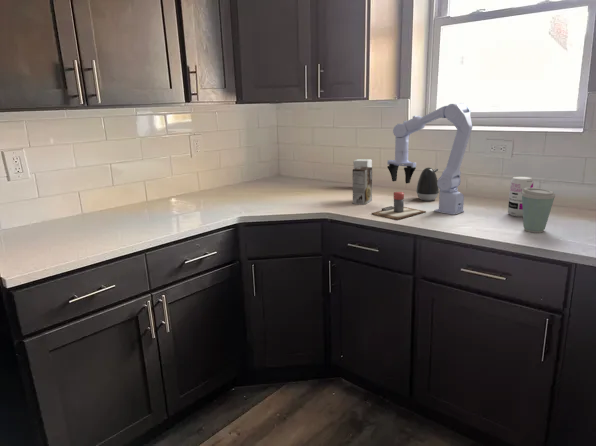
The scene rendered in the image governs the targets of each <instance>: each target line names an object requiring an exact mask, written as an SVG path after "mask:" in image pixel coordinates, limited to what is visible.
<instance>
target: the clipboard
mask: <svg viewBox="0 0 596 446" xmlns="http://www.w3.org/2000/svg"><path fill="white" fill-rule="evenodd" d="M426 213H427V211H426V210H421V209H416V208H412V207H411V208H410V207H406V206H404V212H401V213H397V212H394V205H390V206H386V207H382V208H381V210H378V211H373V212H371V215H373V216H377V217H382V218H386V219H390V220H395V221H400V220H403V219H407V218H411V217H415V216H419V215H422V214H426Z"/></svg>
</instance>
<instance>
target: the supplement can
mask: <svg viewBox="0 0 596 446" xmlns="http://www.w3.org/2000/svg"><path fill="white" fill-rule="evenodd" d="M524 188H534V180H533V178H532V176H520V175H519V176H513V177H512V179H510V184H509V194H508V205H507V206H508V207H507V213H508V214H509V216H511V217H519V218H521V217H522V218H523V206H522V195H521V193H522V191H523V189H524Z"/></svg>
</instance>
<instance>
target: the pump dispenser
mask: <svg viewBox="0 0 596 446" xmlns="http://www.w3.org/2000/svg"><path fill="white" fill-rule="evenodd" d="M437 171H438V172H439V168H435V169H433V168H432V167H425V168H424V169H423V170H422V171H421V173H420V175H419V178H418V181H417V185H416V188H415V189H416V194H417V197H418V198H419V199H420V200H421V201H426V202H431V201H435V200H436V199H437V197H438V195H439V193H440V189H439V188H438V185H437V181H438V176H437V174H436V172H437Z"/></svg>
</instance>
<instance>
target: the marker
mask: <svg viewBox="0 0 596 446" xmlns="http://www.w3.org/2000/svg"><path fill="white" fill-rule="evenodd" d="M404 199H405V192H404V191H395V192H393V207H394V212H397V213H401V212H404V207H405V205H404V202H405V200H404Z"/></svg>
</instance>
